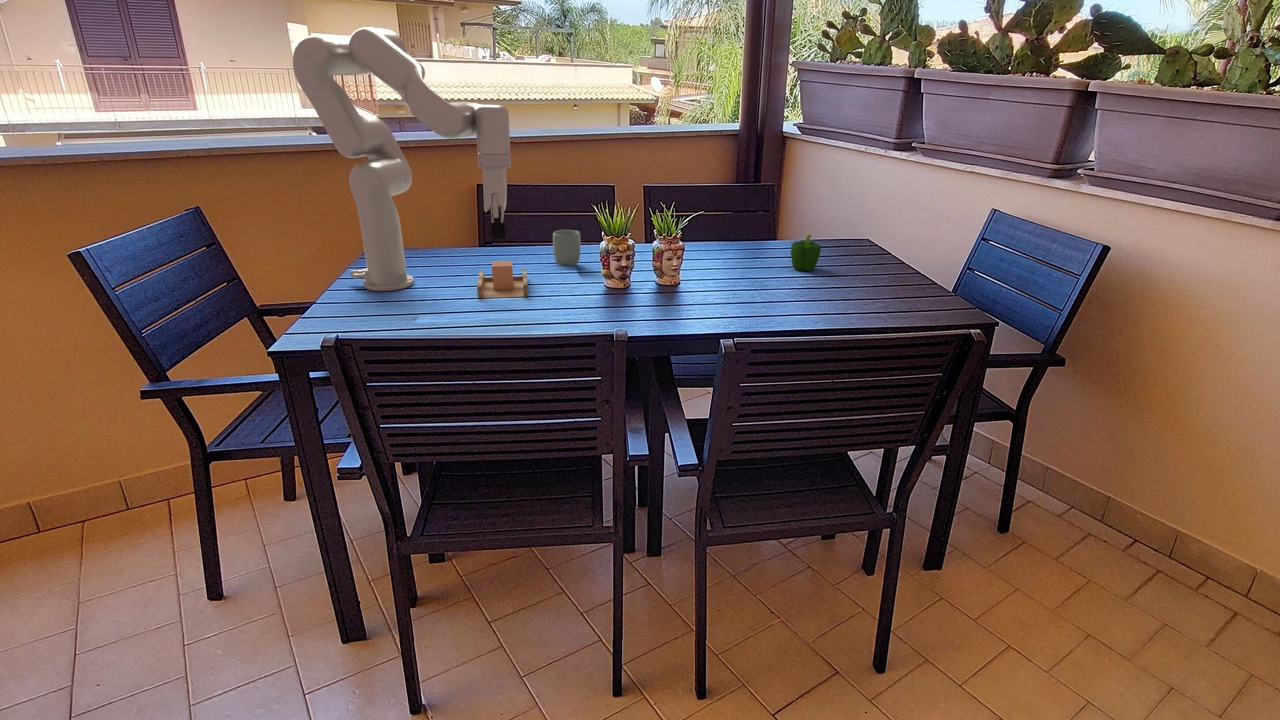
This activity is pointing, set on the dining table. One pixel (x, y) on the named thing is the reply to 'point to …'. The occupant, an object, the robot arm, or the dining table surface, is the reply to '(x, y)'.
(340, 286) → the dining table surface
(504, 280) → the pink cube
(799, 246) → the bell pepper
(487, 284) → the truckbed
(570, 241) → the cup
